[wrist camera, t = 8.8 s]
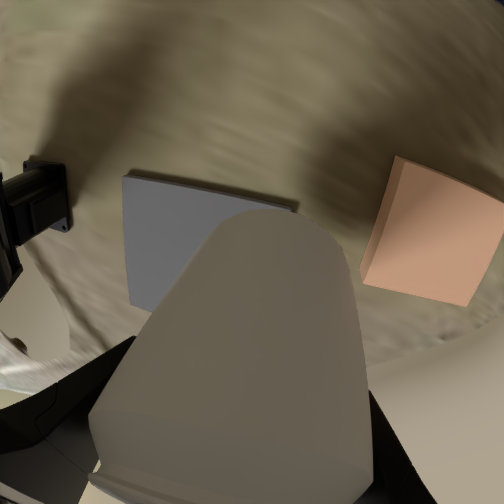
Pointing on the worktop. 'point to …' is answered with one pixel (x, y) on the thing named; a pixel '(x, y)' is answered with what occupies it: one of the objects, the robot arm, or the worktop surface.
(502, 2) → the storage jar
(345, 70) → the worktop surface
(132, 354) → the can
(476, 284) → the tile
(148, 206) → the mat
